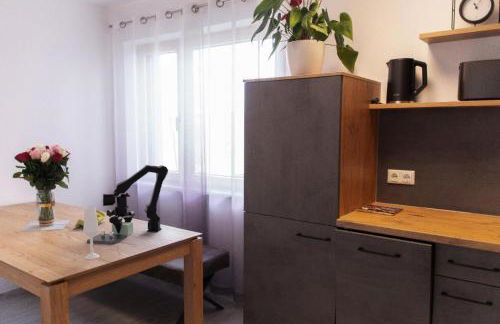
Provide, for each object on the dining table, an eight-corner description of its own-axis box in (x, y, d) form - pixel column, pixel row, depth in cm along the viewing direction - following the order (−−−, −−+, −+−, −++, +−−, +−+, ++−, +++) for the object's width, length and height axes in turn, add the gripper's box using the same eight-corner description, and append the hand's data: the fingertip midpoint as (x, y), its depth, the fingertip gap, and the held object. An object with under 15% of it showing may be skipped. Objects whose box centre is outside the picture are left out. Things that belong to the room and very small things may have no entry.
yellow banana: (91, 225, 234) (77, 217, 235) (87, 235, 236) (73, 228, 237) (108, 215, 254) (95, 208, 254) (105, 224, 255) (92, 218, 256)
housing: (133, 232, 226) (133, 222, 226) (128, 235, 220) (127, 225, 220) (117, 231, 228) (117, 221, 228) (112, 234, 222) (111, 224, 222)
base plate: (126, 237, 217) (126, 229, 216) (114, 244, 204) (113, 236, 204) (100, 235, 220) (100, 228, 219) (87, 242, 207) (86, 234, 207)
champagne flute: (97, 258, 182) (95, 208, 180) (82, 259, 181) (80, 209, 179) (101, 254, 189) (99, 205, 186) (87, 254, 188) (85, 206, 186)
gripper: (117, 201, 233) (118, 226, 235) (99, 207, 215) (101, 234, 217) (134, 201, 231) (135, 227, 233) (118, 208, 213) (119, 235, 214)
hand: (122, 231), depth 224 cm, fingers open, 9 cm apart
